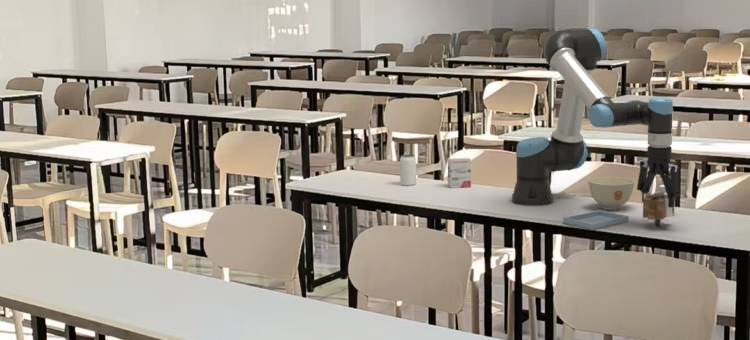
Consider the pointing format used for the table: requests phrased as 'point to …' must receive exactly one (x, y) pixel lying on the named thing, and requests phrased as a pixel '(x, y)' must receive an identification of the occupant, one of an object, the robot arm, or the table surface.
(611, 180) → the bowl
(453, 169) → the ink box
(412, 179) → the can
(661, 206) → the brown wooden hollow block
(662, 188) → the pill bottle
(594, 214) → the tray
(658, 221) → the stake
